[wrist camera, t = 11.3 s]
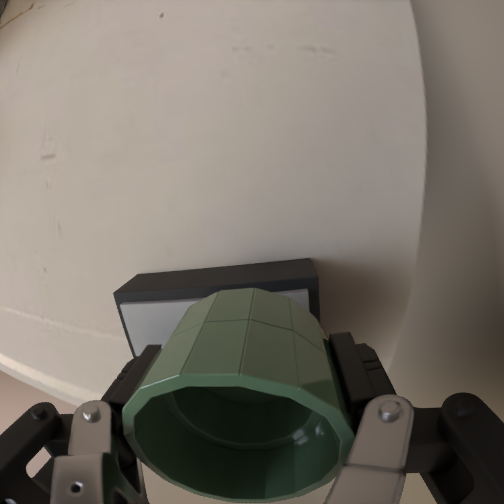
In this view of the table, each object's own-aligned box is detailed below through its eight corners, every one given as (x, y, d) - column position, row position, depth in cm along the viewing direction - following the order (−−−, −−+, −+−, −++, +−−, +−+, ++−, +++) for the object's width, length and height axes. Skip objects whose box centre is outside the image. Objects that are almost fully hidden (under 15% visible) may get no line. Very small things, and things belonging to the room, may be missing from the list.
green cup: (325, 274, 10) (366, 360, 5) (326, 401, 11) (342, 496, 6) (159, 289, 10) (87, 366, 5) (193, 407, 12) (164, 494, 7)
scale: (310, 257, 15) (319, 279, 12) (315, 397, 18) (320, 433, 14) (136, 274, 16) (108, 295, 13) (175, 401, 19) (161, 433, 15)
